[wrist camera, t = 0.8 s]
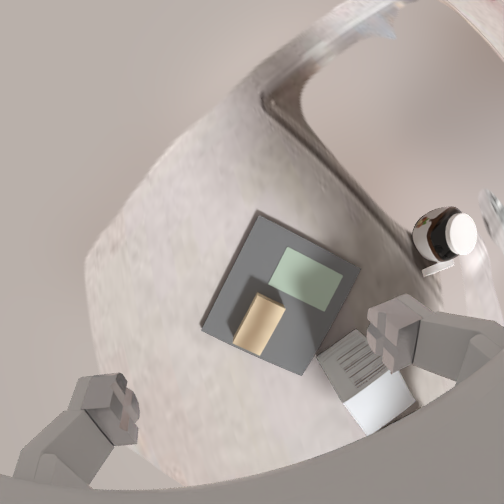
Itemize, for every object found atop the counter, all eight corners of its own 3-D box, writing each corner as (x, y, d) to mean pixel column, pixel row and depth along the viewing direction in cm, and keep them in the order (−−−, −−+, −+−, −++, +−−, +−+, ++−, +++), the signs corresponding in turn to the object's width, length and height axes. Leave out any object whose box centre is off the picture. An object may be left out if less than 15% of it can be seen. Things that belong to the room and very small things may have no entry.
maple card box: (283, 304, 49) (285, 309, 46) (259, 349, 50) (259, 355, 47) (257, 291, 49) (257, 295, 46) (233, 337, 50) (232, 343, 47)
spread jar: (432, 203, 50) (468, 197, 38) (457, 247, 50) (494, 250, 39) (395, 240, 50) (429, 241, 39) (423, 285, 51) (458, 296, 39)
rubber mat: (359, 268, 50) (361, 268, 49) (300, 373, 51) (301, 376, 50) (258, 215, 50) (259, 214, 49) (201, 328, 51) (200, 330, 49)
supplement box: (314, 356, 51) (340, 402, 34) (355, 326, 51) (395, 361, 34) (339, 389, 51) (367, 438, 35) (377, 362, 51) (417, 402, 34)
